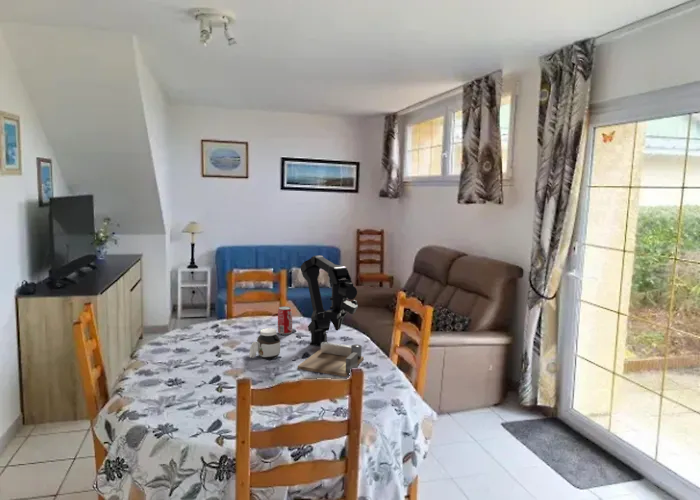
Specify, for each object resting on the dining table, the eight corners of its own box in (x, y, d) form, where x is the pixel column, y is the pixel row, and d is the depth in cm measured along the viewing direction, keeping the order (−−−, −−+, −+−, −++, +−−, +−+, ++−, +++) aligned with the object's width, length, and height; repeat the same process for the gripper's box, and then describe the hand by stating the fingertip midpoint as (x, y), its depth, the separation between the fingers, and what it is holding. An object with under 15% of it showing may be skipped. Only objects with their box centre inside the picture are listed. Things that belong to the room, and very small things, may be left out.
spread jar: (282, 357, 214) (282, 331, 212) (261, 364, 206) (261, 336, 204) (265, 350, 222) (265, 325, 220) (244, 356, 214) (244, 330, 212)
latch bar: (362, 356, 213) (363, 345, 212) (359, 359, 209) (359, 348, 208) (323, 350, 219) (324, 339, 218) (319, 353, 215) (319, 342, 214)
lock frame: (297, 368, 201) (297, 352, 200) (319, 352, 220) (319, 337, 220) (348, 377, 193) (349, 360, 192) (366, 359, 213) (366, 344, 212)
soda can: (289, 335, 244) (289, 310, 242) (275, 334, 245) (275, 309, 244) (294, 331, 251) (294, 306, 249) (280, 330, 252) (280, 305, 251)
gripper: (347, 301, 204) (347, 338, 207) (362, 292, 222) (362, 326, 224) (323, 298, 208) (322, 334, 210) (339, 290, 226) (339, 323, 228)
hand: (337, 329), depth 218 cm, fingers closed
